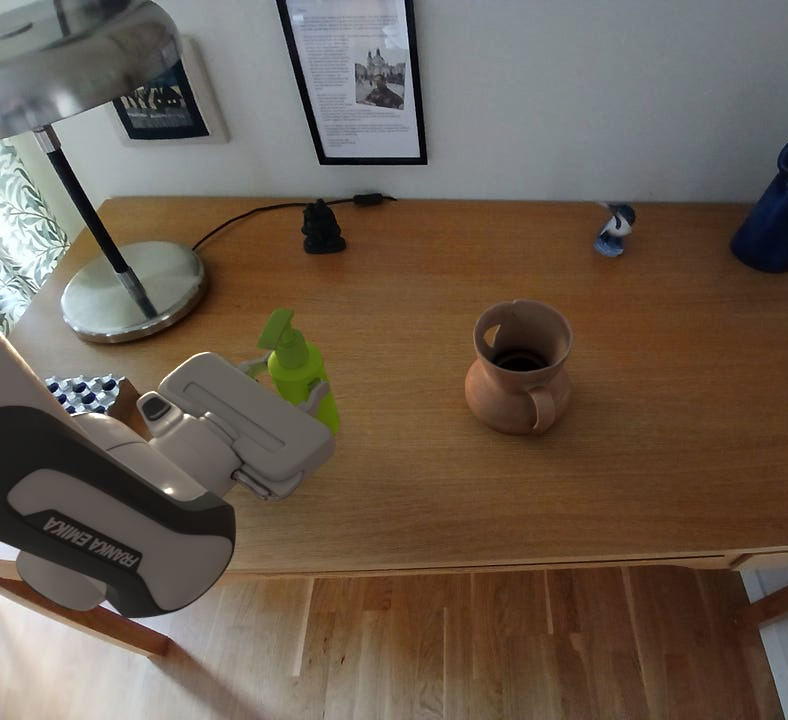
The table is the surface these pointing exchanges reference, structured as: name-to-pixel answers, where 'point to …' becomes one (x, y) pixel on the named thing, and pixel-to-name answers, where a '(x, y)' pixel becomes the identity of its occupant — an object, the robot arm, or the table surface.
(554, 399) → the ceramic jug
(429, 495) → the table surface
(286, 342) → the soap dispenser
